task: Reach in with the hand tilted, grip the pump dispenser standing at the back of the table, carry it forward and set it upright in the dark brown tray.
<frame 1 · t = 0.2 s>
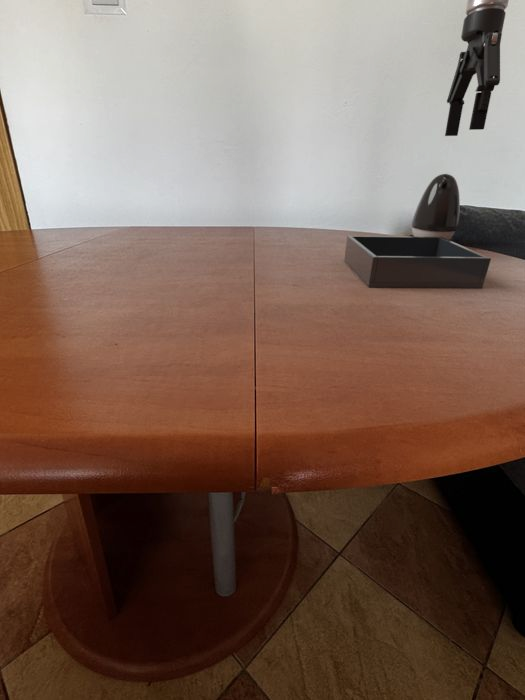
hand: (462, 133, 86), 23 cm above the table, tool pointing down, fingers open, 13 cm apart
dark brown tray: (406, 272, 67), on the table
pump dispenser: (430, 243, 91), on the table
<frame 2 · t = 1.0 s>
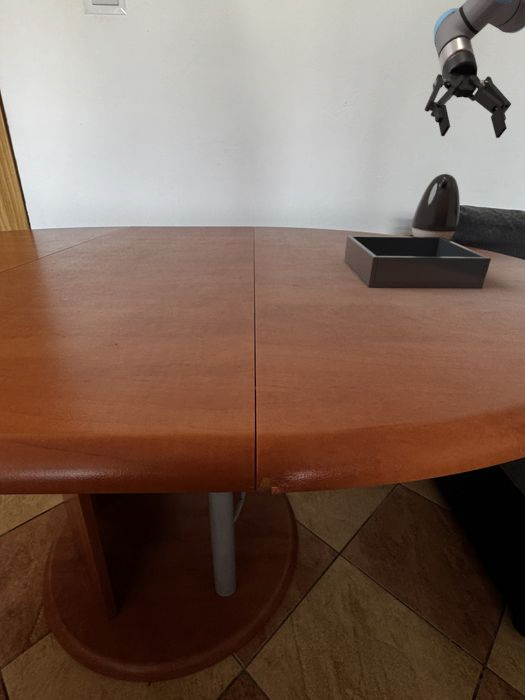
hand: (473, 132, 88), 24 cm above the table, tool tilted 45°, fingers open, 13 cm apart
nothing on the table moved.
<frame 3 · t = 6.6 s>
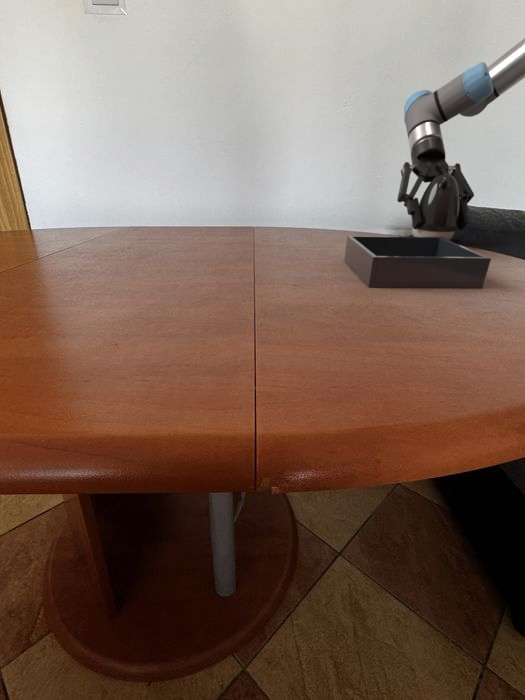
hand: (440, 225, 86), 4 cm above the table, tool tilted 45°, fingers closed on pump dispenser, 10 cm apart
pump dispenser: (430, 243, 91), on the table, touching gripper
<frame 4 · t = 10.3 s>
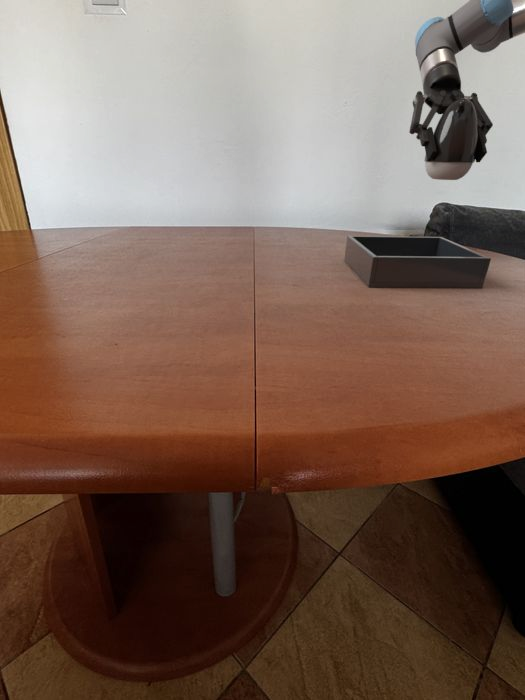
hand: (456, 157, 80), 19 cm above the table, tool tilted 45°, fingers closed on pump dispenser, 10 cm apart
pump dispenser: (444, 180, 85), point 14 cm above the table, touching gripper
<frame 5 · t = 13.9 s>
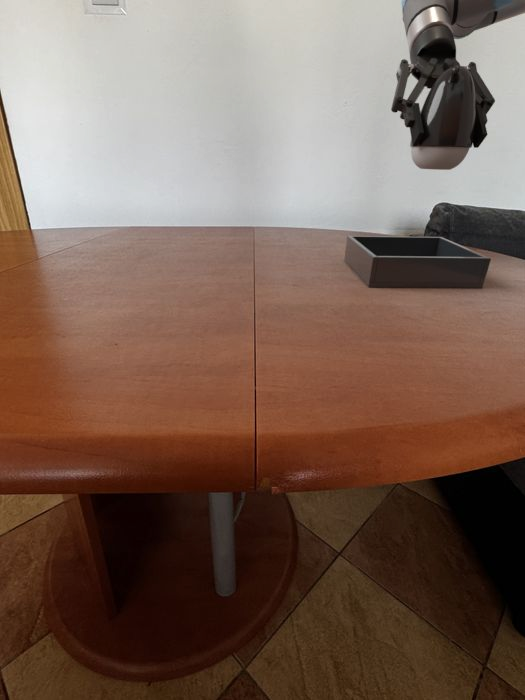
hand: (449, 140, 64), 21 cm above the table, tool tilted 45°, fingers closed on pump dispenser, 10 cm apart
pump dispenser: (434, 170, 68), point 16 cm above the table, touching gripper
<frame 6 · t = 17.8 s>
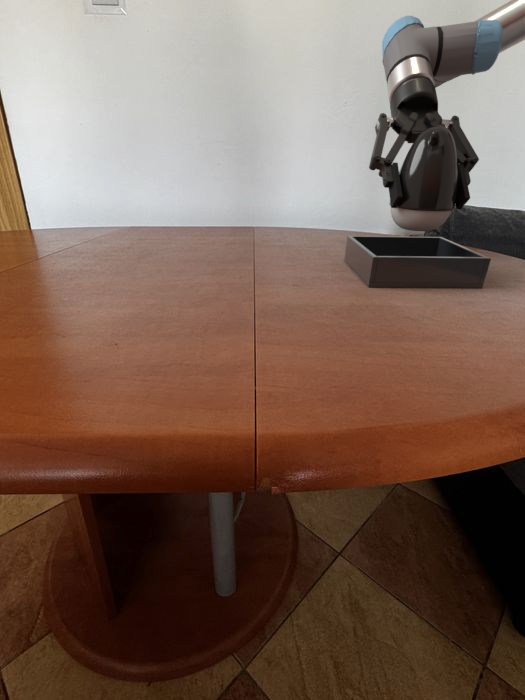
hand: (430, 203, 60), 12 cm above the table, tool tilted 45°, fingers closed on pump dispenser, 10 cm apart
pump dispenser: (415, 229, 65), point 7 cm above the table, touching gripper
when the fingers open (5 cm above the table, at t = 21.2 s): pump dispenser stays where it is, resting on dark brown tray.
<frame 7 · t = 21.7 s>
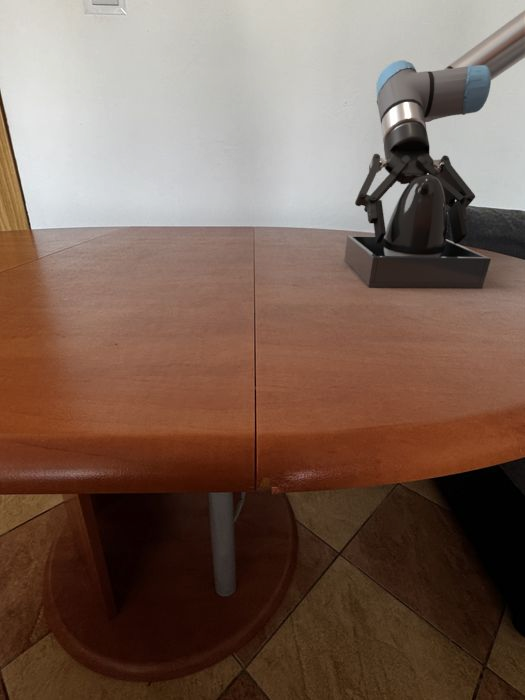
hand: (420, 239, 63), 6 cm above the table, tool tilted 45°, fingers open, 13 cm apart
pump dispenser: (408, 268, 68), point 1 cm above the table, touching dark brown tray
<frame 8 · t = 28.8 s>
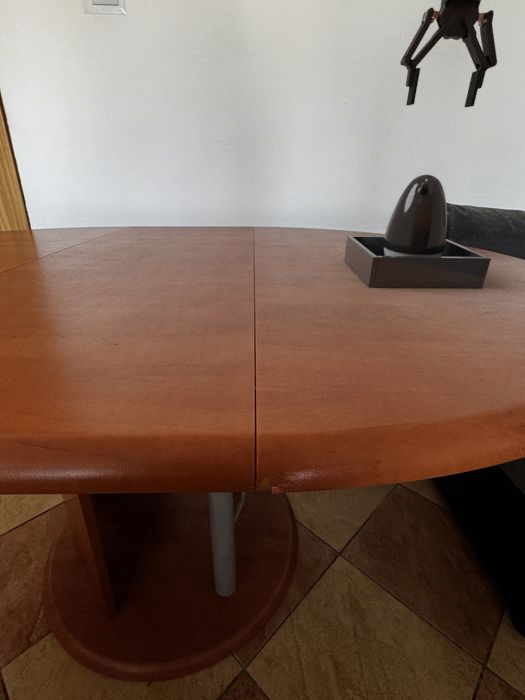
hand: (439, 105, 85), 29 cm above the table, tool pointing down, fingers open, 13 cm apart
nothing on the table moved.
at the end: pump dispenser inside the target area in the dark brown tray (0.7 cm from its centre), point 0.6 cm above the dark brown tray's base; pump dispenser tilted 0°; the gripper is holding nothing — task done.
